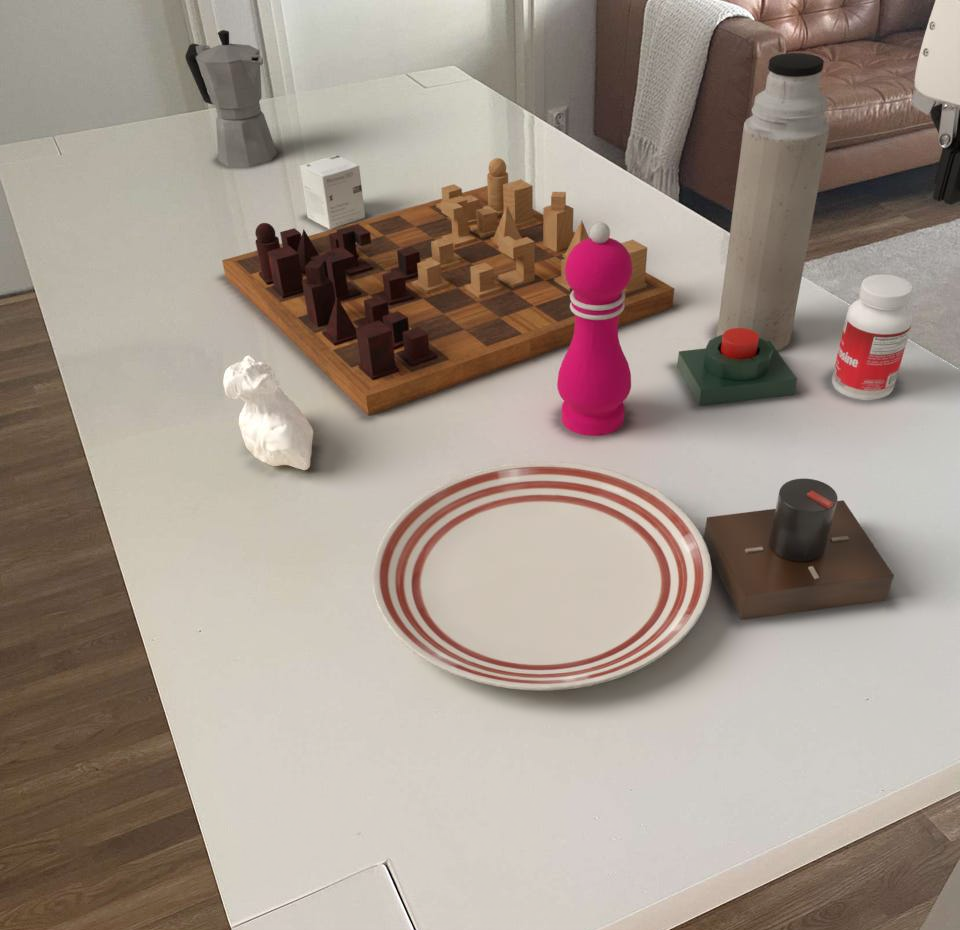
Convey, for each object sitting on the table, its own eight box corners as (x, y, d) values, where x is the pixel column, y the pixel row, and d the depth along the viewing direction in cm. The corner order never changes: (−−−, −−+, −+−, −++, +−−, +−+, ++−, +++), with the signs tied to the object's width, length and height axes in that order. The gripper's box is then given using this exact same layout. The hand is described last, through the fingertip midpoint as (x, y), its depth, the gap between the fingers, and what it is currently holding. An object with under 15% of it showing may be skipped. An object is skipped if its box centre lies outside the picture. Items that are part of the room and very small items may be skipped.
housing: (766, 359, 109) (772, 325, 106) (793, 397, 103) (800, 362, 100) (676, 369, 108) (680, 335, 105) (698, 409, 102) (703, 373, 100)
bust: (270, 441, 106) (183, 379, 98) (319, 389, 104) (234, 322, 96) (295, 504, 97) (203, 443, 90) (349, 450, 96) (259, 382, 88)
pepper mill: (615, 397, 105) (627, 202, 91) (638, 434, 100) (653, 233, 86) (548, 408, 104) (549, 212, 90) (567, 446, 99) (571, 245, 85)
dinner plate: (706, 728, 72) (712, 697, 70) (339, 694, 76) (332, 663, 74) (708, 500, 92) (712, 469, 89) (414, 482, 96) (411, 452, 93)
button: (749, 341, 104) (752, 325, 103) (761, 358, 102) (764, 342, 101) (716, 345, 104) (718, 329, 103) (726, 362, 102) (729, 346, 100)
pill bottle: (824, 373, 106) (846, 271, 99) (883, 371, 106) (910, 269, 98) (839, 404, 102) (863, 300, 94) (900, 402, 102) (930, 298, 94)
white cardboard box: (330, 232, 138) (322, 176, 133) (307, 219, 142) (298, 164, 137) (366, 219, 141) (360, 164, 136) (343, 207, 144) (335, 153, 139)
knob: (757, 542, 82) (768, 490, 78) (793, 521, 84) (804, 468, 80) (800, 569, 80) (813, 516, 76) (836, 546, 81) (850, 492, 78)
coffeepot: (299, 155, 160) (278, 26, 147) (259, 175, 155) (234, 43, 142) (227, 141, 166) (201, 16, 154) (187, 160, 161) (156, 32, 148)
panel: (836, 527, 88) (843, 498, 86) (885, 603, 81) (894, 573, 79) (702, 544, 87) (706, 515, 85) (740, 623, 80) (745, 593, 78)
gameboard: (672, 309, 118) (679, 231, 111) (368, 418, 104) (357, 336, 97) (490, 203, 143) (488, 135, 136) (226, 280, 129) (209, 207, 122)
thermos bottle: (740, 314, 116) (780, 41, 97) (803, 334, 112) (857, 53, 93) (702, 342, 112) (736, 62, 92) (766, 363, 108) (815, 76, 89)
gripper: (1160, -65, 68) (1062, 211, 80) (961, -90, 76) (902, 163, 89) (1101, -46, 65) (1009, 238, 77) (901, -74, 73) (848, 186, 86)
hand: (951, 197), depth 83 cm, fingers closed
